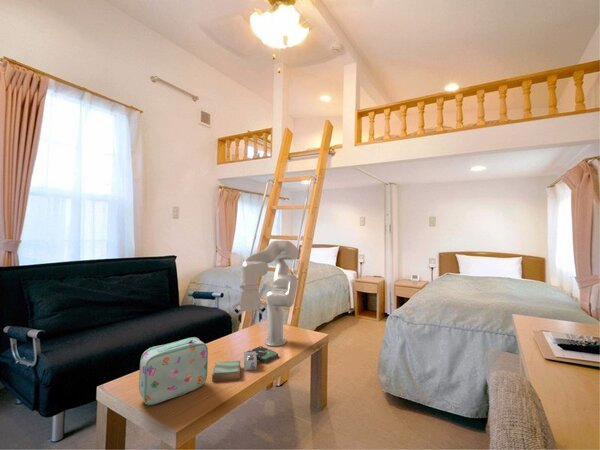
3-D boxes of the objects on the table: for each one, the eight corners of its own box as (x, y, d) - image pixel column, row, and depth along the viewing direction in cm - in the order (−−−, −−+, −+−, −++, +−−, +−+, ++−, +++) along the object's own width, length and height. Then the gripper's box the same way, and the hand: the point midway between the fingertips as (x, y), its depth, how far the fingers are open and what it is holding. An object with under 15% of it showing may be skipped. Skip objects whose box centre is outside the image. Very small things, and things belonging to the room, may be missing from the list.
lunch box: (201, 376, 133) (201, 330, 134) (211, 385, 126) (211, 336, 126) (137, 400, 115) (137, 346, 115) (144, 411, 107) (144, 354, 108)
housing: (243, 361, 148) (243, 350, 149) (255, 360, 150) (255, 349, 150) (244, 372, 138) (244, 359, 138) (256, 370, 139) (256, 358, 139)
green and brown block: (215, 369, 140) (215, 362, 141) (240, 367, 142) (240, 360, 143) (212, 381, 129) (212, 374, 129) (239, 379, 131) (239, 371, 131)
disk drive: (246, 356, 156) (264, 364, 146) (246, 351, 156) (264, 359, 146) (260, 350, 163) (278, 357, 154) (260, 345, 164) (278, 352, 154)
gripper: (232, 289, 140) (232, 324, 140) (267, 288, 143) (267, 322, 142) (233, 286, 147) (233, 320, 147) (266, 285, 150) (266, 318, 150)
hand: (250, 321), depth 145 cm, fingers open, 9 cm apart
